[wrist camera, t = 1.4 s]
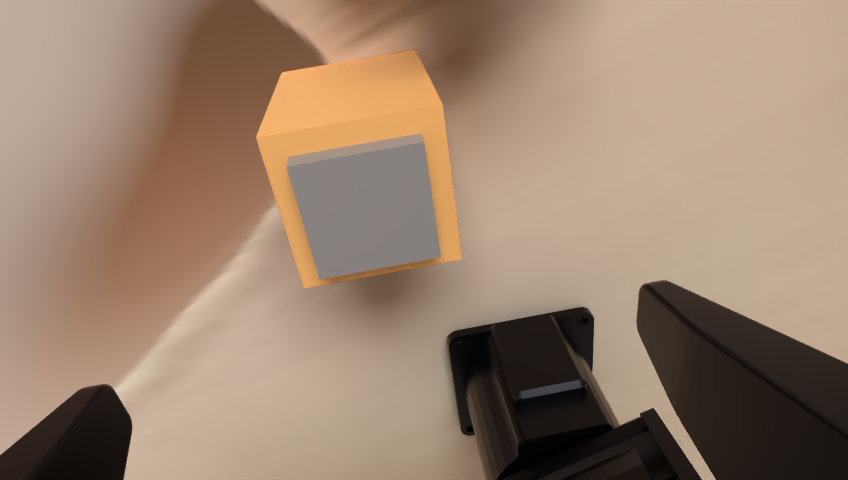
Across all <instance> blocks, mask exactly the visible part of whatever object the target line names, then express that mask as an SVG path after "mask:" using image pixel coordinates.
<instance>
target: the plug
mask: <svg viewBox="0 0 848 480" xmlns="http://www.w3.org/2000/svg"><path fill="white" fill-rule="evenodd" d="M256 139H257V142H258V145H259V148H260V151H261V155H262V158H263V161H264V164H265V167H266V170H267V173H268V176H269V180H270V183H271V186H272V189H273V193H274V196H275V199H276V202H277V205H278V208H279V211H280V215H281V218H282V221H283V224H284V227H285V230H286V234H287V237H288V240H289V243H290V246H291V249H292V252H293V256H294V259H295V262H296V265H297V268H298V271H299V275H300V278H301V281H302V284H303V287H304V289H305V288H310V287H315V286H321V285H326V284H332V283H337V282H342V281H348V280H353V279H359V278H364V277H369V276H375V275H380V274H386V273H391V272H396V271H402V270H407V269H413V268H418V267H423V266H429V265H434V264H440V263H445V262H450V261H456V260H461V259H462V255H461V247H460V239H459V231H458V223H457V215H456V207H455V199H454V191H453V182H452V174H451V166H450V158H449V150H448V142H447V134H446V126H445V118H444V110H443V104H442V102H441V100H440V98H439V96H438V94H437V92H436V90H435V88H434V86H433V84H432V82H431V80H430V78H429V76H428V74H427V72H426V70H425V68H424V66H423V64H422V62H421V60H420V58H419V56H418V54H417V52H416V50H410V51H404V52H399V53H393V54H387V55H381V56H375V57H370V58H364V59H358V60H352V61H346V62H341V63H335V64H329V65H322V66H317V67H311V68H305V69H299V70H294V71H287V72H282V74H281V76H280V79H279V81H278V84H277V86H276V89H275V91H274V94H273V96H272V99H271V101H270V104H269V106H268V109H267V111H266V114H265V116H264V119H263V121H262V124H261V126H260V129H259V131H258V134H257V136H256Z"/></svg>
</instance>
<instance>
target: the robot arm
mask: <svg viewBox="0 0 848 480" xmlns="http://www.w3.org/2000/svg"><path fill="white" fill-rule="evenodd" d="M582 317H584V318H583V319H582V320H580V321H579V319H580V318H582ZM637 329H638V332H639V335H640V337H641V340H642V342H643V344H644V346H645V348H646V350H647V353H648V355H649V357H650V359H651V361H652V363H653V366H654V368H655V370H656V372H657V374H658V376H659V379H660V381H661V383H662V385H663V387H664V389H665V391H666V394H667V396H668V398H669V400H670V402H671V404H672V406H673V408H674V410H675V412H676V414H677V416H678V417H679V419H680V421H681V423H682V424H683V426H684V428H685V429H686V431H687V433H688V434H689V436H690V438H691V439H692V441H693V442H694V444H695V446H696V447H697V449H698V451H699V452H700V454H701V456H702V457H703V459H704V461H705V462H706V464H707V466H708V467H709V469H710V470H711V472H712V474H713V475H714V477H715V479H716V480H848V364H847V363H845V362H843V361H841V360H839V359H837V358H834V357H832V356H830V355H828V354H826V353H824V352H821V351H819V350H817V349H815V348H813V347H810V346H808V345H806V344H804V343H802V342H800V341H797V340H795V339H793V338H791V337H789V336H787V335H784V334H782V333H780V332H778V331H776V330H774V329H771V328H769V327H767V326H765V325H763V324H761V323H758V322H756V321H754V320H752V319H750V318H747V317H745V316H743V315H741V314H739V313H737V312H734V311H732V310H730V309H728V308H726V307H724V306H721V305H719V304H717V303H715V302H713V301H711V300H708V299H706V298H704V297H702V296H700V295H697V294H695V293H693V292H691V291H689V290H687V289H684V288H682V287H680V286H678V285H676V284H674V283H671V282H669V281H666V280H661V281H656V282H650V283H645V284H643V285H642V286H641V288H640V290H639V299H638V310H637ZM593 337H594V317H593V315H592V313H591V312H590V310H589V309H588V308H585V307H579V308H573V309H568V310H563V311H558V312H552V313H547V314H542V315H536V316H531V317H526V318H521V319H515V320H510V321H505V322H499V323H494V324H489V325H483V326H478V327H473V328H468V329H462V330H457V331H454V332H452V333H451V334H449V336H448V338H447V344H448V350H449V357H450V363H451V370H452V376H453V382H454V389H455V395H456V402H457V408H458V415H459V421H460V427H461V431H462V433H463V434H465V435H468V436H471V435H475V437H476V441H477V445H478V449H479V453H480V457H481V461H482V465H483V470H484V474H485V478H486V480H702V479H701V478H700V476H699V475H698V473H697V472H696V470H695V469H694V467H693V466H692V464H691V463H690V461H689V460H688V458H687V457H686V455H685V454H684V452H683V451H682V449H681V448H680V447H679V445H678V444H677V442H676V441H675V439H674V438H673V436H672V435H671V433H670V432H669V430H668V429H667V427H666V426H665V424H664V423H663V421H662V420H661V418H660V417H659V415H658V414H657V412H656V411H655V409H654V408H652V409H649V410H647V411H645V412H643V413H640V417H638V418H636V419H634V420H631V421H629V422H627V423H625V424H622V425H620V424H619V423H618V421H617V419H616V417H615V415H614V413H613V411H612V409H611V407H610V406H609V404H608V402H607V400H606V398H605V396H604V394H603V392H602V391H601V389H600V387H599V385H598V383H597V381H596V379H595V377H594V376H593V374H592V367H593ZM457 341H462V342H461V343H456V342H457ZM470 425H471V426H470ZM131 435H132V421H131V417H130V415H129V413H128V412H127V410H126V408H125V407H124V405H123V404H122V402H121V400H120V399H119V397H118V395H117V394H116V392H115V391H114V389H113V388H112V387H111V386H110V385H108V384H101V385H95V386H89V387H85V388H82V389H80V390H78V391H77V392H76V393H74V395H72V396H71V397H70V398H68V399H67V400H66V401H65V402H64V403H62V404H61V405H60V406H59V407H58V408H56V409H55V410H54V411H53V412H52V413H50V414H49V415H48V416H47V417H46V418H45V419H43V420H42V421H41V422H40V423H39V424H37V425H36V426H35V427H34V428H32V429H31V430H30V431H29V432H28V433H26V434H25V435H24V436H23V437H22V438H20V440H18V441H17V442H16V443H14V445H12V446H11V447H10V448H9V449H7V450H6V451H5V452H4V453H3V454H1V455H0V480H124V474H125V469H126V463H127V457H128V452H129V446H130V440H131Z"/></svg>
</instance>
